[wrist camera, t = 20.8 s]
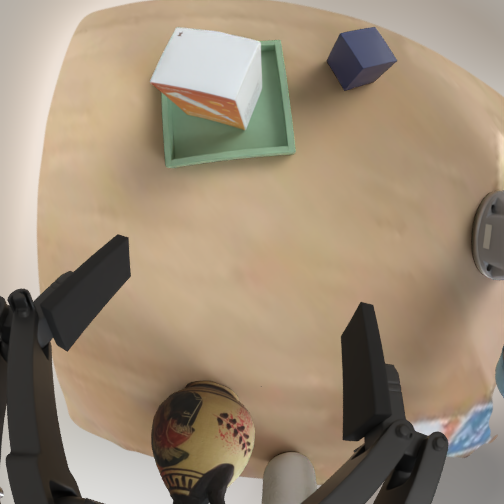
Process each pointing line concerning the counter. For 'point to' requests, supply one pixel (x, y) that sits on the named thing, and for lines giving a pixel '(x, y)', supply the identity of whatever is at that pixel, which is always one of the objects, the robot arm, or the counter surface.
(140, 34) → the counter surface
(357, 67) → the navy block
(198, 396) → the ceramic jug
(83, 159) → the counter surface
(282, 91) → the tray
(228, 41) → the small box
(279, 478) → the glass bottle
